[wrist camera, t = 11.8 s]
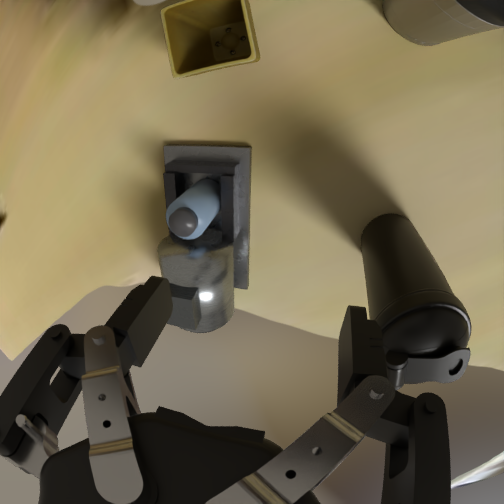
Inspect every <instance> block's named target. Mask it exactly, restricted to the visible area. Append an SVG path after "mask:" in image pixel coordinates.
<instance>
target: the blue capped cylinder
mask: <svg viewBox="0 0 504 504" xmlns="http://www.w3.org/2000/svg"><path fill="white" fill-rule="evenodd" d="M220 210H221V186H220V185H219V184H218V183H217V182H215V181H213V180H210V179H203V180H200V181H198V182H196V183H195V184H194V185H193V186H191V187H190V188H189V189H188V190H187V191H185V192H184V193H183V194H182V195H181V196H180V197H178V198H177V199H176V200H175V201H174V202H173V203H171V204H170V205H169V207H168V209H167V211H166V221H167V224H168V226H169V228H170V229H171V231H172V232H173V233H174V234H175V235H177V236H178V237H180V238H183V239H195V238H197V237H199V236H200V235H201V234H202V233H203V232H204V231H205V229H206V228H207V227H208V225H209V224H210V223H211V221H212V220H213V219H214V217H215V216H216V215H217V213H218V212H219V211H220Z"/></svg>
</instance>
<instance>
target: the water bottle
mask: <svg viewBox="0 0 504 504" xmlns="http://www.w3.org/2000/svg"><path fill="white" fill-rule="evenodd" d="M361 250H362V257H363V264H364V271H365V279H366V288H367V297H368V306H369V317H370V320H376V322H377V324H378V325H379V327H380V328H381V331H382V337H383V340H382V341H383V344H384V352H385V359H386V368H387V376H388V380H389V381H390V382H391V383H392V384H393V386H394V388H395V390H398V389H400V388H401V387H402V386H403V385H404V384H418V383H423V382H427V381H436V382H440V383H450V382H453V381H456V380H457V379H459V378H460V377H461V376H462V375H463V373H464V372H465V369H466V367H467V365H468V362H469V358H470V349H469V348H466V347H467V344H468V341H469V338H470V335H471V322H470V318H469V316H468V313H467V311H466V309H465V307H464V306H463V304H462V303H461V301H460V300H459V299H458V298H457V297H456V296H455V295H454V294H453V292H452V290H451V288H450V286H449V284H448V282H447V280H446V278H445V276H444V274H443V273H442V271H441V270H440V267H439V266H438V264H437V262H436V260H435V259H434V257H433V255H432V254H431V252H430V250H429V249H428V247H427V246H426V245H425V243H424V241H423V240H422V238H421V237H420V235H419V234H418V232H417V230H416V229H415V227H414V226H413V224H412V223H411V222H410V221H409V220H408V219H407V218H405V217H403V216H401V215H398V214H385V215H381V216H379V217H377V218H375V219H373V220H372V221H371V222H370V223H369V224H368V225H367V226H366V227H365V229H364V231H363V233H362V236H361Z"/></svg>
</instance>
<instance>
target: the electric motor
mask: <svg viewBox="0 0 504 504" xmlns="http://www.w3.org/2000/svg"><path fill="white" fill-rule="evenodd" d="M251 149H252V147H247V146H226V145H165V146H164V160H165V173H163V175H164V187H165V197H166V207H167V209H168V207H169V205H170V204H171V203H173V202H174V201H175V200H176V199H177V198H178V197H180V196H181V195H182V194H183V193H184V192H185V191H187V190H188V189H189V188H190V187H191V186H193V185H194V184H195V183H196V182H198V181H200V180H203V179H210V180H213V181H215V182H217V183H218V184H219V185H220V186H221V210H220V211H219V212H218V213H217V215H216V216H215V217H214V219H213V220H212V221H211V223H210V224H209V225H208V227H207V228H206V229H205V231H204V232H203V233H202V234H201V235H200V236H199V237H197V238H195V239H183V238H180V237H178V236H177V235H175V234H174V233H173V232H172V231H171V229H170V228H169V234H170V235H169V236H167V237H166V238H164V239H163V240H162V241H161V242H160V244H159V246H158V257H159V263H160V269H161V275H162V278H167V279H168V281H169V285H170V291H171V296H172V302H173V310H172V314H171V317H170V318H169V320H168V322H167V324H170V325H174V326H178V327H180V328H181V329H184V330H187V331H190V332H195V333H206V332H211V331H214V330H216V329H218V328H220V327H222V326H223V325H225V324H226V323H227V322H228V321H229V320H230V319H231V317H232V316H233V313H234V288H240V289H248V286H249V242H250V195H251Z"/></svg>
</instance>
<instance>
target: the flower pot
mask: <svg viewBox="0 0 504 504" xmlns="http://www.w3.org/2000/svg"><path fill="white" fill-rule="evenodd" d="M160 13H161V19H162V24H163V29H164V34H165V40H166V45H167V50H168V55H169V61H170V66H171V71H172V75H173V78H175V79H179V78H184V77H188V76H193V75H198V74H202V73H205V72H209V71H213V70H217V69H222V68H226V67H231V66H236V65H242V64H247V63H253V62H257V61H259V60H260V53H259V48H258V44H257V39H256V34H255V29H254V24H253V19H252V14H251V9H250V4H249V1H248V0H184V1H181V2H178V3H175V4H172V5H169V6H167V7H165V8H163V9H162V10H161V12H160ZM228 28H230V29H231V30H230V32H227V31H226V30H227V29H228ZM243 36H244V37H245V40H241V37H243ZM217 42H220V46H217V45H216V43H217ZM231 51H235V54H233V55H232V54H231Z"/></svg>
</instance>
